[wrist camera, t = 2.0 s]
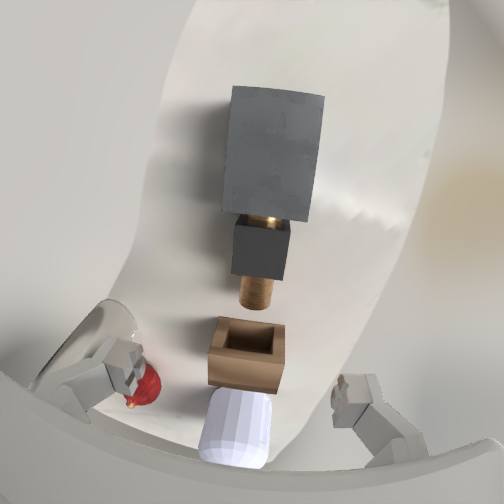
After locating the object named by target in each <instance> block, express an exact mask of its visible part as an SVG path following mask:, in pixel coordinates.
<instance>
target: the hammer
mask: <svg viewBox="0 0 504 504" xmlns="http://www.w3.org/2000/svg"><path fill="white" fill-rule="evenodd" d="M290 233H291V230H290V221H289V220H287V219H280V218H272V217H264V216H256V215H248V214H240V216H239V218H238V220H237V222H236V224H235V233H234V245H233V257H232V270H231V274H236V275H241V284H240V294H239V303H240V304H241V305H242V306H243V307H245V308H247V309H250V310H263V309H266V308H268V307H269V305H270V301H271V295H272V289H273V283H274V280H281V281H283V275H284V269H285V264H286V258H287V252H288V246H289V239H290Z"/></svg>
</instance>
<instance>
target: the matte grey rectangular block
mask: <svg viewBox="0 0 504 504" xmlns="http://www.w3.org/2000/svg"><path fill="white" fill-rule="evenodd" d="M324 98H325V96H321V95H315V94H309V93H302V92H296V91H288V90H280V89H271V88H260V87H247V86H233V88H232V97H231V107H230V116H229V126H228V136H227V147H226V158H225V170H224V182H223V195H222V209H221V211H223V212H232V213H240V214H248V215H256V216H264V217H272V218H280V219H287V220H294V221H301V222H307V221H308V215H309V209H310V203H311V196H312V190H313V184H314V177H315V170H316V163H317V156H318V149H319V141H320V133H321V125H322V116H323V108H324Z"/></svg>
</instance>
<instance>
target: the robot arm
mask: <svg viewBox="0 0 504 504" xmlns="http://www.w3.org/2000/svg"><path fill="white" fill-rule="evenodd" d="M142 352H143V347H142V345H141V344H138V343H135V342H131V341H128V340H125V339H122V338H118V337H115V336H112V335H110V336H108V337H107V338H106V339H105V341H104V342H103V343H102V345H101V346H100V347H99V349H98V350H97V351H96V353H95V354H94V355H93V357H92V358H86V359H84V360H82V361H79V362H77V363H75V364H72V365H70V366H68V367H65V368H63V369H60V370H58V371H55V372H53V373H51V374H48V375H47V376H46V377H45V378H44V380H43V381H42V382H41V384H40V385H39V386H38V388H37V389H36V390H35V392H34V393H32V392H30V391H29V390H27V389H26V388H24V387H23V386H21V385H20V384H18V383H17V382H15V381H14V380H13V379H11V378H10V377H8V376H7V375H6V374H4V373H3V372H2V371H0V504H504V446H503V445H502V444H501V443H499V442H498V441H497V440H495V439H493V438H491V437H487V438H483V439H481V440H478V441H476V442H473V443H470V444H468V445H465V446H462V447H459V448H456V449H453V450H450V451H446V452H443V453H439V454H436V455H432V456H429V454H428V450H427V447H426V444H425V440H424V437H423V434H422V433H421V432H420V431H419V430H418V429H417V428H416V427H415V426H413V425H412V424H411V423H410V422H409V421H408V420H407V419H406V418H404V417H403V416H402V415H401V414H400V413H399V412H398V411H396V410H395V409H394V408H393V407H392V406H391V405H390V404H389V403H385V402H384V399H383V395H382V392H381V389H380V386H379V383H378V380H377V376H376V375H375V374H340V376H339V377H338V384H337V385H336V386H334V388H333V390H332V394H331V407H332V408H333V409H334V413H333V415H332V418H333V426H334V428H353V430H354V432H355V433H356V434H357V436H358V437H359V438H360V439H361V440H362V442H363V443H364V444H365V446H366V447H367V448H368V450H369V451H370V452H371V453H372V455H373V456H374V458H373V459H372V460H371V461H370V462H369V463H367V465H366V466H365V468H361V469H351V470H337V471H278V470H264V469H254V468H245V467H237V466H230V465H224V464H218V463H213V462H207V461H202V460H197V459H193V458H189V457H184V456H180V455H176V454H172V453H168V452H165V451H162V450H158V449H155V448H151V447H148V446H145V445H142V444H139V443H136V442H133V441H130V440H128V439H125V438H122V437H120V436H117V435H115V434H112V433H110V432H107V431H105V430H102V429H100V428H98V427H96V426H93V425H91V421H90V419H89V417H88V416H87V414H86V413H85V411H87V410H88V409H90V408H92V407H93V406H95V405H96V404H98V403H99V402H101V401H103V400H104V399H106V398H107V397H109V396H110V395H112V394H113V393H115V392H118V393H121V394H125V395H128V396H131V397H132V396H133V394H134V392H135V390H136V389H137V387H138V384H137V381H138V380H140V379H141V378H142V377H143V375H144V372H145V368H146V361H145V358H144V357H143V356H142Z"/></svg>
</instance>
